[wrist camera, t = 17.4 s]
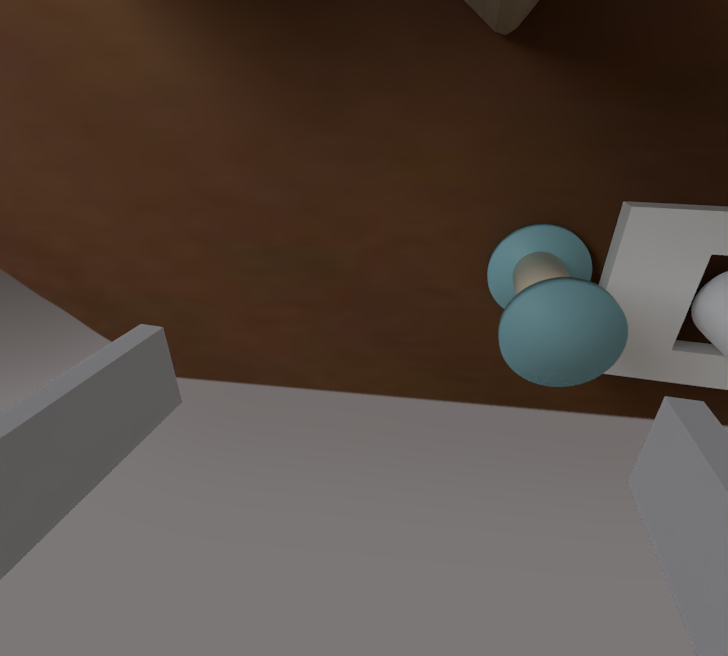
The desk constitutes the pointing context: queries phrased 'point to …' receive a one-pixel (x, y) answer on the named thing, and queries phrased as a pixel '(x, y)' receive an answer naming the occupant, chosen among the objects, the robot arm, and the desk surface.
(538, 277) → the bobbin
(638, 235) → the u-shaped block
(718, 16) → the desk surface
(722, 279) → the beverage can
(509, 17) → the wooden block
